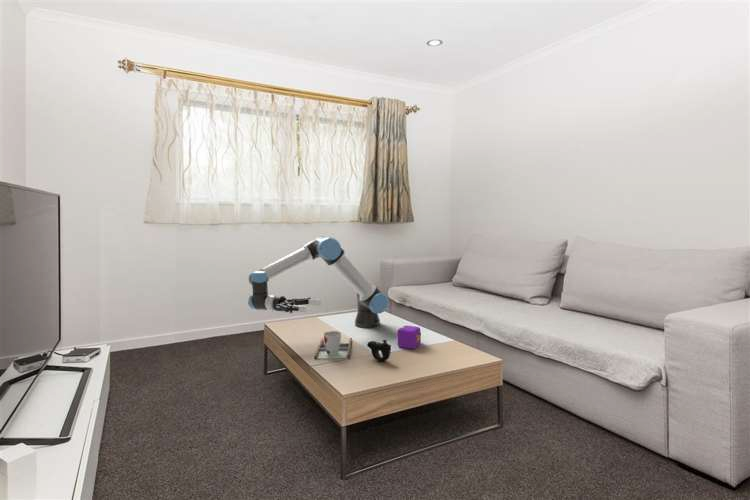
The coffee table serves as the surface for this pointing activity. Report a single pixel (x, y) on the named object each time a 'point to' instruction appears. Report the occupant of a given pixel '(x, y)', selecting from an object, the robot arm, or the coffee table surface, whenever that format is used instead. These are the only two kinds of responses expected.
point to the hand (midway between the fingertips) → (312, 305)
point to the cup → (332, 342)
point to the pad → (324, 356)
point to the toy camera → (409, 337)
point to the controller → (383, 347)
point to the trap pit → (342, 348)
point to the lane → (322, 343)
